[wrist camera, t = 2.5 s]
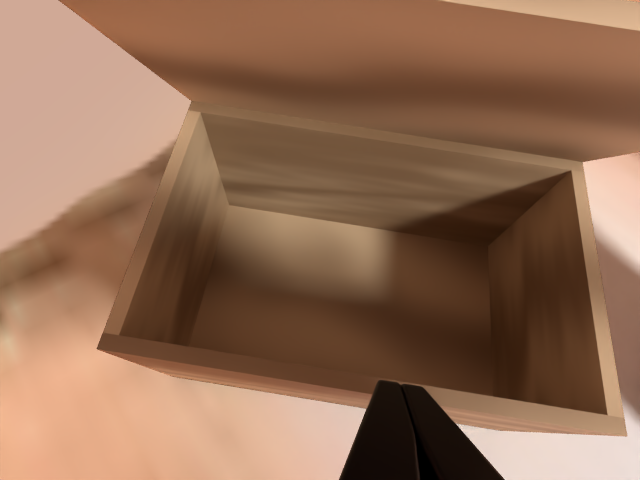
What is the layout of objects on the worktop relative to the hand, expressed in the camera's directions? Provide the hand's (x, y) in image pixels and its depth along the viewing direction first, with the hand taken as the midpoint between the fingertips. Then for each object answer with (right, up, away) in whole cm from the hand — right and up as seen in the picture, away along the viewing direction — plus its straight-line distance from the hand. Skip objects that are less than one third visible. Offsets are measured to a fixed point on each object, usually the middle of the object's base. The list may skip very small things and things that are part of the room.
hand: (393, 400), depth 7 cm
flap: (+1, +7, +4) cm, 8 cm away
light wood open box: (0, 0, +14) cm, 14 cm away
